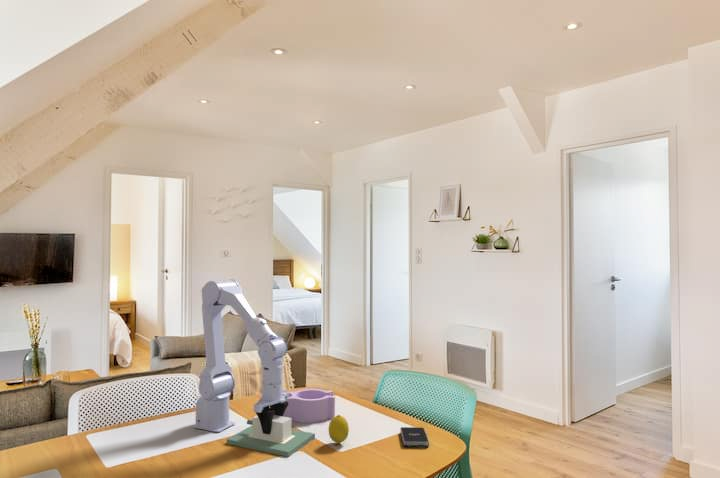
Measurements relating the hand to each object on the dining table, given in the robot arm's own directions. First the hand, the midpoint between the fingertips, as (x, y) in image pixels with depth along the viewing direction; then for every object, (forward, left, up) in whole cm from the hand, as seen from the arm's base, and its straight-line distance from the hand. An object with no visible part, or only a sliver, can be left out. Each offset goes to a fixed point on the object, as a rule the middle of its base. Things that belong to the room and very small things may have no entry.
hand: (271, 430), depth 138 cm
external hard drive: (+36, +18, -3) cm, 40 cm away
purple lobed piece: (-2, +22, -3) cm, 22 cm away
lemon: (+18, +6, -3) cm, 19 cm away
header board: (0, 0, -3) cm, 3 cm away
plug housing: (-1, 0, -1) cm, 2 cm away
